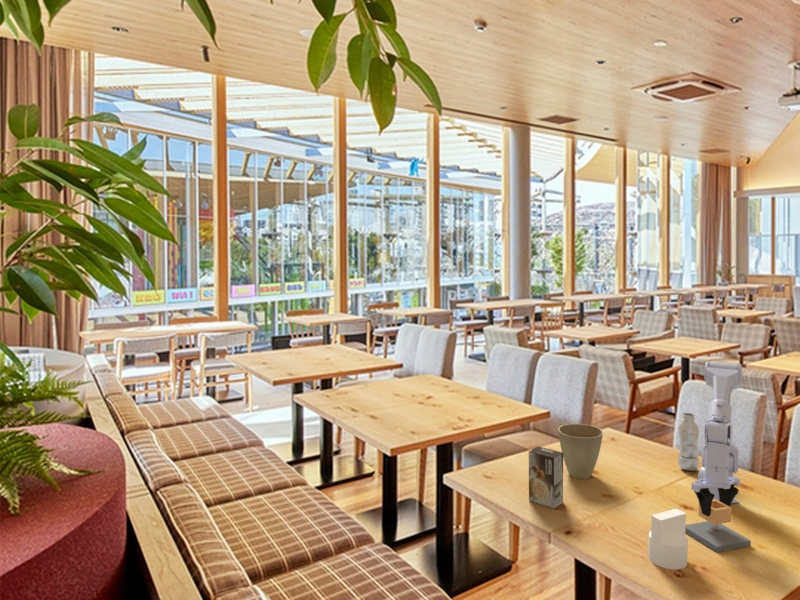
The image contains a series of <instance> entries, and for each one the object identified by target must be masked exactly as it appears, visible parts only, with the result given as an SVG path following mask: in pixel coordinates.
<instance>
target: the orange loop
mask: <svg viewBox="0 0 800 600" xmlns="http://www.w3.org/2000/svg"><path fill="white" fill-rule="evenodd" d="M732 512H733V508H732V506H731V505H730V506H728V505H726V504H724V503H722V502H720V501H718V500H716V499H713V501H712V504H711V512H710V516H706V515H704V514H702V511H701V507H700V503H699V502H698V517H700V518H702V519H704V520H705V521H709V522H711V523H712V524H714V525H716V524H725V523H726V524H727V523H731V522H732V515H733V514H732Z"/></svg>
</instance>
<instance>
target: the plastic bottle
mask: <svg viewBox="0 0 800 600" xmlns="http://www.w3.org/2000/svg"><path fill="white" fill-rule="evenodd" d="M681 418H682V421H681V423H680V424H679V425H678V435H679V445H680V446H679V447H680V448H679V455H678V460H677V461H678V466H679V468H680V469H681V470H684V471H689V472H693V471H696V470H698V469H699V467H700V459H699V452H698V443H699V442H698V441H699V435H700V428H699V426H698V424H697V423H696V422H695V421H696V418H695V414H694V413H691V412H684V413H682V417H681Z"/></svg>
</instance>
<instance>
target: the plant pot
mask: <svg viewBox="0 0 800 600" xmlns="http://www.w3.org/2000/svg"><path fill="white" fill-rule="evenodd" d="M557 431H558V432H557V433H558V439H559V444H560V445H559V446H560V448H561V452H563V462H564V464H565V467H566V469H567V471H568V474H569V476H570V477H572V478H575V479H580V480H584V479H589V478H591V476H592V474H593V472H594V470H595V468H596V467H595V466H596V465H597V462H598V459H599V455H600V451H601V447H602V446H601V445H602V442H603V436H604V431H603V430H602V429H601V428H599V427H597V426H593V425H590V424H583V423H568V424H562V425H560V426H559V427H558V428H557Z"/></svg>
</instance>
